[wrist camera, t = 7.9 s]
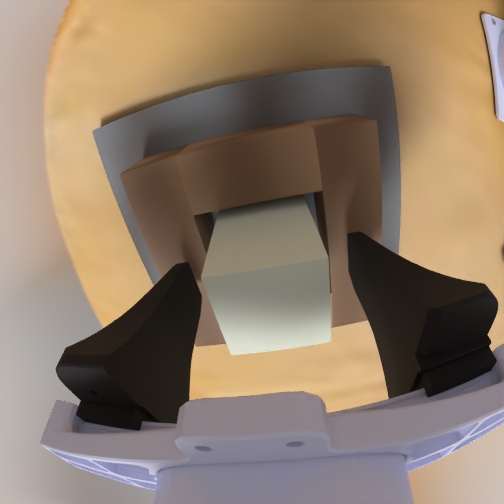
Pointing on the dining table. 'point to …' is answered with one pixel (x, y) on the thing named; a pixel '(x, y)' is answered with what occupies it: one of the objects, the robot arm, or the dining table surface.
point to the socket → (260, 169)
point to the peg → (268, 277)
